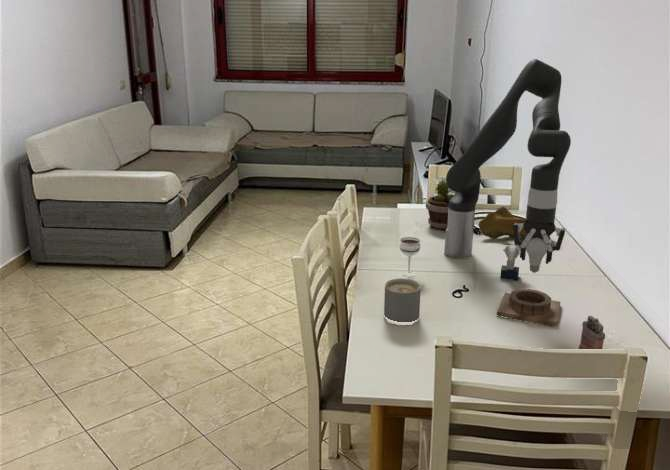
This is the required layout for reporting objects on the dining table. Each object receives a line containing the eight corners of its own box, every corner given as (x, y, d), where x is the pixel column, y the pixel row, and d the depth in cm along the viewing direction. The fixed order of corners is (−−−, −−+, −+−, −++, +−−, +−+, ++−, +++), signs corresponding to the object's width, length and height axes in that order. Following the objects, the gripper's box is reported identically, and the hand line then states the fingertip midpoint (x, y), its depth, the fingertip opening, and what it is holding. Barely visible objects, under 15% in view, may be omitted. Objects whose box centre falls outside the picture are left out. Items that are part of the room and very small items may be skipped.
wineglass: (423, 274, 198) (424, 240, 194) (410, 280, 193) (412, 245, 189) (406, 268, 202) (407, 235, 198) (394, 274, 197) (395, 240, 193)
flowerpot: (464, 232, 237) (468, 184, 230) (426, 232, 237) (428, 184, 230) (458, 221, 251) (461, 175, 244) (421, 221, 251) (424, 175, 244)
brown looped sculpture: (499, 208, 244) (553, 209, 230) (497, 239, 243) (551, 242, 229) (479, 204, 229) (535, 205, 215) (477, 237, 229) (533, 240, 215)
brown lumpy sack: (575, 347, 153) (580, 312, 149) (588, 346, 153) (593, 311, 150) (590, 364, 145) (596, 327, 142) (604, 363, 145) (610, 327, 142)
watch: (518, 273, 198) (522, 242, 194) (517, 283, 191) (520, 251, 187) (501, 271, 200) (504, 240, 196) (499, 280, 192) (502, 249, 189)
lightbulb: (546, 277, 164) (551, 240, 161) (523, 275, 166) (527, 238, 162) (543, 269, 170) (548, 232, 166) (521, 267, 171) (525, 231, 168)
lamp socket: (496, 316, 169) (497, 302, 167) (504, 296, 181) (505, 283, 179) (555, 327, 163) (557, 312, 161) (559, 306, 175) (561, 292, 173)
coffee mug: (418, 327, 163) (420, 294, 160) (382, 324, 164) (383, 291, 161) (419, 305, 175) (421, 274, 172) (386, 303, 177) (387, 272, 174)
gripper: (512, 204, 161) (507, 262, 166) (569, 210, 155) (561, 269, 161) (516, 197, 167) (510, 253, 173) (570, 203, 162) (563, 260, 167)
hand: (535, 260), depth 167 cm, fingers closed on lightbulb, 5 cm apart
